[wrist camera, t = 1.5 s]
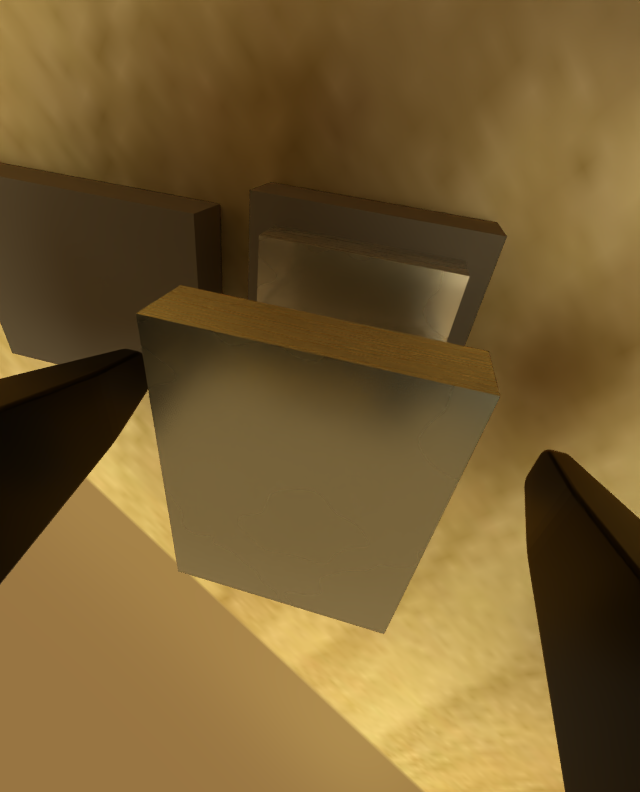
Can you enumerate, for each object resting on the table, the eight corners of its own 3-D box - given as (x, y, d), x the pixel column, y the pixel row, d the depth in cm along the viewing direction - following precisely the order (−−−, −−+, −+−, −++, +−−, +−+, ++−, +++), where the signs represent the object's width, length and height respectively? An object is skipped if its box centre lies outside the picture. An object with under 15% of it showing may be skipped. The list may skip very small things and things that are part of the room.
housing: (465, 260, 9) (500, 396, 4) (400, 452, 12) (383, 633, 8) (275, 225, 9) (135, 313, 5) (264, 418, 13) (178, 571, 8)
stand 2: (497, 222, 10) (507, 236, 8) (417, 441, 14) (415, 472, 13) (271, 182, 10) (250, 190, 9) (261, 403, 15) (245, 428, 13)
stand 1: (219, 203, 11) (193, 213, 10) (224, 377, 14) (205, 401, 13) (-11, 160, 12) (-61, 165, 10) (45, 335, 15) (12, 352, 14)
